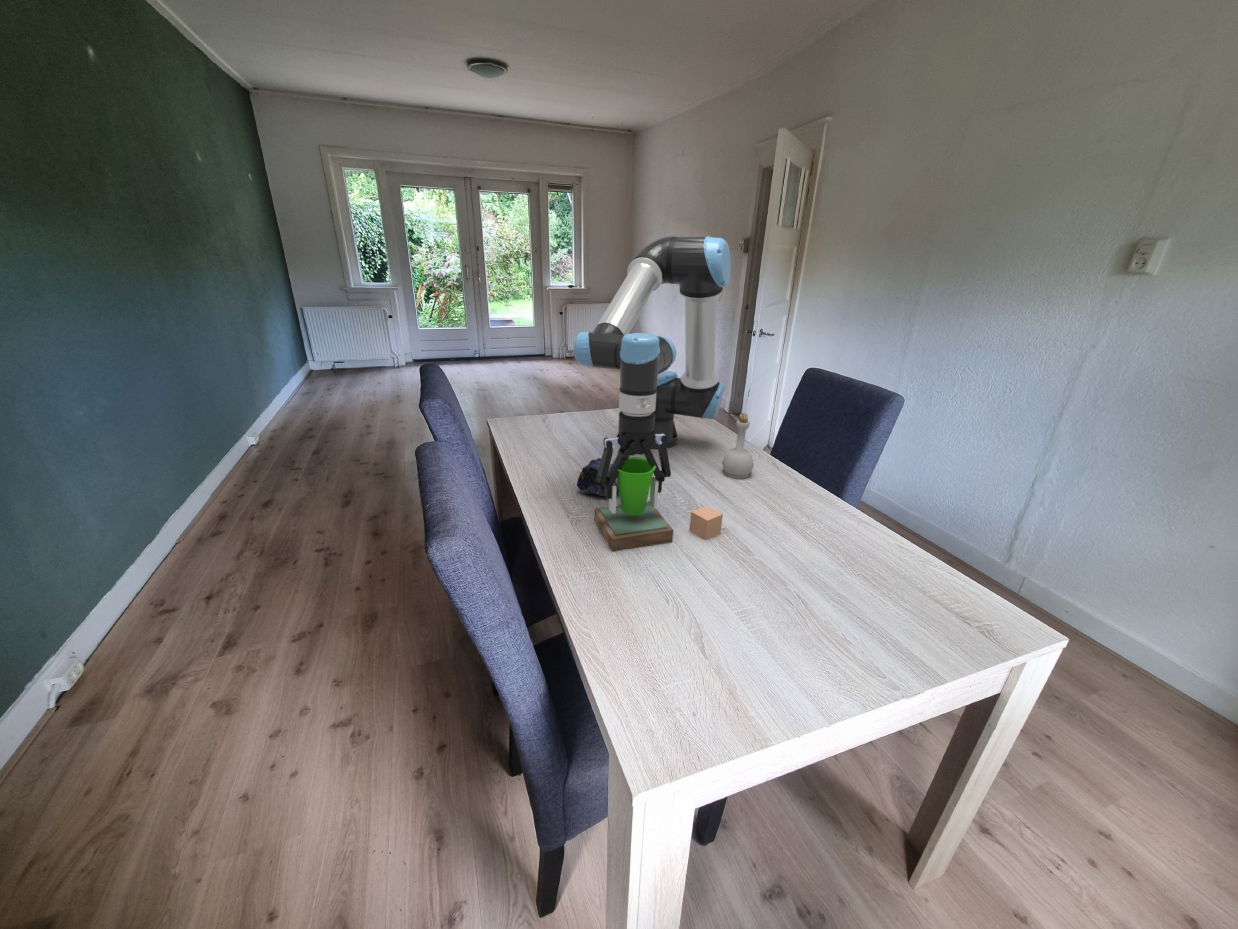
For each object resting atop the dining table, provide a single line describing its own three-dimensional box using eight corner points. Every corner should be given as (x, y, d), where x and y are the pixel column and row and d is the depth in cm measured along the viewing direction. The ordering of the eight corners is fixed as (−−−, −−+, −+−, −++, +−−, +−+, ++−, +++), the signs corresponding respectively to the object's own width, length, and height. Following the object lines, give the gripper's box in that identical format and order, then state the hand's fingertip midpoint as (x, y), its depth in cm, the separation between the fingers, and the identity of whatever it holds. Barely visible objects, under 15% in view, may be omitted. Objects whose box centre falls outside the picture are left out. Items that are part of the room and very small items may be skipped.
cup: (650, 522, 106) (652, 475, 101) (608, 517, 107) (609, 471, 103) (655, 503, 114) (658, 459, 109) (617, 498, 115) (618, 455, 111)
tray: (594, 519, 117) (594, 507, 115) (649, 512, 121) (650, 499, 120) (611, 551, 105) (612, 537, 103) (672, 541, 109) (673, 528, 107)
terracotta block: (689, 530, 114) (691, 511, 112) (704, 524, 116) (706, 505, 114) (705, 540, 110) (707, 520, 108) (720, 533, 113) (722, 514, 111)
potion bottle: (749, 468, 147) (757, 410, 140) (753, 481, 139) (762, 420, 132) (719, 466, 148) (726, 409, 141) (722, 479, 140) (729, 418, 133)
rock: (569, 486, 127) (586, 451, 126) (587, 489, 136) (603, 457, 136) (602, 505, 123) (620, 469, 122) (618, 507, 132) (635, 474, 131)
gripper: (590, 420, 95) (590, 522, 104) (693, 413, 101) (684, 509, 110) (581, 409, 102) (581, 506, 110) (677, 403, 108) (670, 495, 117)
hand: (632, 507), depth 110 cm, fingers closed on cup, 9 cm apart
